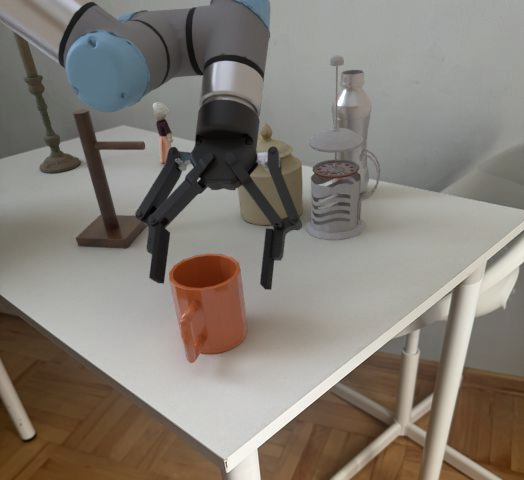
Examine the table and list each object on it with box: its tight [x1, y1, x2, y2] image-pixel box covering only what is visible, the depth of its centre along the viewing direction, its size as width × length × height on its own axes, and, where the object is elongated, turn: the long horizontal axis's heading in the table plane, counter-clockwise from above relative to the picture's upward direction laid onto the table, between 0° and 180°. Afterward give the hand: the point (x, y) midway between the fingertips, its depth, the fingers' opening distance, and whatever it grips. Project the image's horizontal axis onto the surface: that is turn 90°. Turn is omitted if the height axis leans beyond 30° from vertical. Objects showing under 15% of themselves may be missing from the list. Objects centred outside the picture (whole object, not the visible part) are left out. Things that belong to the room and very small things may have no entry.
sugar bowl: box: [237, 122, 304, 226], centre depth 91 cm, size 15×11×15 cm
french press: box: [305, 54, 382, 241], centre depth 80 cm, size 10×12×25 cm
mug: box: [168, 252, 248, 364], centre depth 63 cm, size 12×8×9 cm, turn 167°
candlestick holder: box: [12, 30, 81, 174], centre depth 113 cm, size 9×9×30 cm
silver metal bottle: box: [331, 69, 372, 195], centre depth 92 cm, size 6×7×20 cm
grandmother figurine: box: [152, 101, 174, 166], centre depth 114 cm, size 8×4×13 cm, turn 37°
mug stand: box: [72, 108, 147, 249], centre depth 85 cm, size 14×9×20 cm, turn 77°
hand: (209, 284), depth 63 cm, fingers open, 13 cm apart
